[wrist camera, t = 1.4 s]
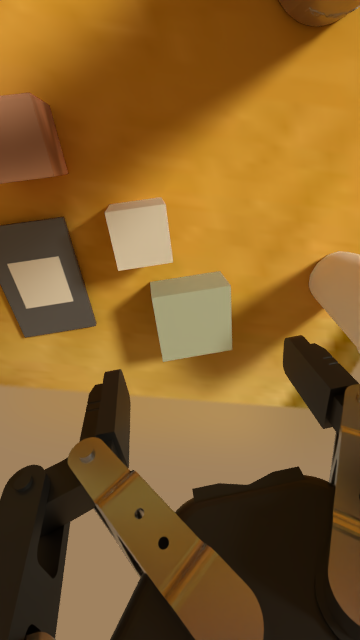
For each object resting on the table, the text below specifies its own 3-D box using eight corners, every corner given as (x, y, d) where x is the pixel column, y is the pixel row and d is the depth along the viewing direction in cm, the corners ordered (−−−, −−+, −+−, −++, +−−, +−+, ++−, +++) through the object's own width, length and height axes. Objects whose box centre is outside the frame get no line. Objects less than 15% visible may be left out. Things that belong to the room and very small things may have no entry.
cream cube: (109, 204, 27) (104, 212, 23) (160, 197, 28) (165, 204, 23) (120, 254, 30) (118, 270, 26) (167, 247, 30) (173, 262, 26)
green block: (149, 281, 32) (151, 298, 28) (219, 270, 32) (230, 285, 28) (160, 339, 36) (163, 361, 32) (221, 329, 36) (232, 349, 32)
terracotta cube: (-14, 112, 23) (-49, 101, 19) (49, 105, 23) (29, 92, 19) (12, 181, 25) (-14, 185, 21) (68, 173, 26) (54, 176, 21)
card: (-22, 228, 27) (-26, 230, 26) (63, 216, 27) (62, 217, 27) (26, 334, 33) (24, 338, 32) (96, 323, 33) (95, 326, 33)
